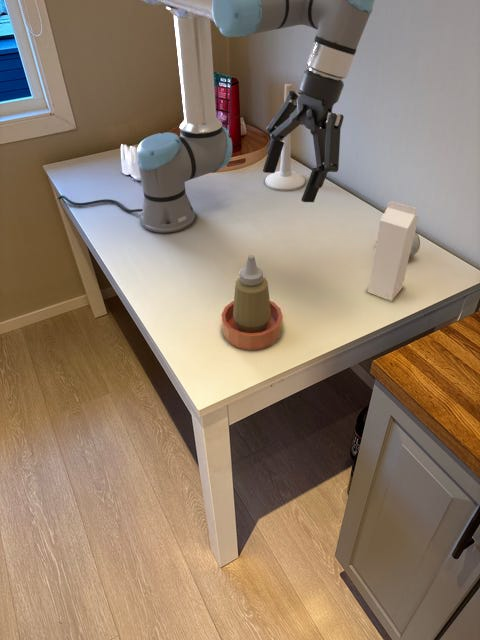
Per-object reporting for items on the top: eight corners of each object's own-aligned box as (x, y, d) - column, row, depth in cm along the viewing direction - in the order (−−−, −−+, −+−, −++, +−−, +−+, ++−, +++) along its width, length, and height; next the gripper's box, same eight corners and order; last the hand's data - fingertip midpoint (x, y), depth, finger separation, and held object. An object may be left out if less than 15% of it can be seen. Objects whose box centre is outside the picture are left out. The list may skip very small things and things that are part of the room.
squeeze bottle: (268, 342, 100) (268, 270, 88) (229, 337, 101) (225, 266, 90) (273, 317, 106) (275, 246, 94) (237, 313, 107) (234, 243, 95)
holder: (210, 333, 103) (209, 319, 101) (246, 303, 111) (246, 289, 108) (258, 358, 97) (258, 344, 95) (292, 324, 105) (293, 310, 102)
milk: (378, 280, 116) (394, 194, 102) (402, 288, 113) (422, 202, 99) (366, 292, 112) (382, 206, 98) (391, 301, 110) (411, 214, 95)
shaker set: (149, 180, 161) (144, 147, 154) (139, 184, 159) (133, 151, 152) (132, 169, 169) (126, 137, 161) (121, 173, 167) (115, 140, 159)
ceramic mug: (419, 259, 122) (425, 232, 117) (392, 268, 119) (397, 241, 114) (392, 240, 129) (397, 214, 124) (366, 248, 127) (370, 221, 122)
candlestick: (278, 170, 165) (281, 74, 145) (312, 179, 159) (319, 80, 139) (257, 184, 157) (257, 85, 137) (291, 194, 151) (296, 91, 131)
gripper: (388, 99, 81) (339, 215, 93) (299, 58, 96) (267, 162, 108) (357, 93, 77) (311, 215, 89) (270, 51, 92) (240, 160, 104)
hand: (287, 186), depth 98 cm, fingers open, 13 cm apart
